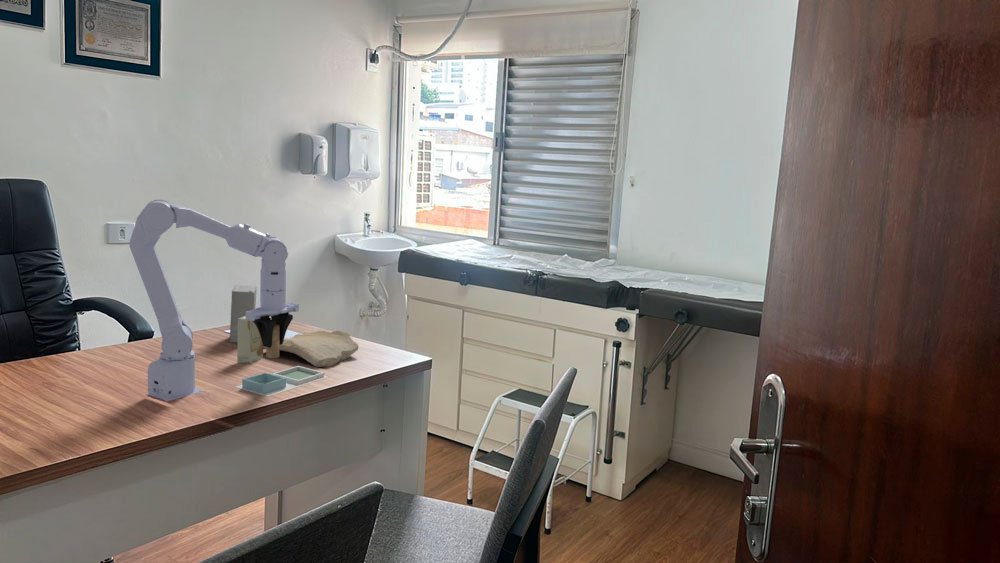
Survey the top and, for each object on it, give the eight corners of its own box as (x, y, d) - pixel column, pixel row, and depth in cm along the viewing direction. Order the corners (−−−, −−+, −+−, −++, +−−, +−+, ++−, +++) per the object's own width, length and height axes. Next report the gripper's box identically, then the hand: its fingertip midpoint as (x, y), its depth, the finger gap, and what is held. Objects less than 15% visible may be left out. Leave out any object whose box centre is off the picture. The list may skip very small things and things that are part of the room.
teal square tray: (263, 394, 164) (263, 385, 164) (242, 388, 168) (242, 379, 167) (286, 386, 170) (286, 378, 170) (265, 381, 174) (265, 372, 173)
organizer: (267, 399, 163) (267, 392, 163) (234, 389, 168) (234, 382, 168) (328, 378, 180) (328, 372, 180) (296, 370, 185) (297, 364, 185)
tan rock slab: (302, 344, 215) (250, 351, 197) (304, 320, 214) (253, 325, 196) (364, 362, 204) (316, 371, 186) (368, 336, 203) (319, 343, 185)
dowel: (272, 358, 168) (272, 327, 167) (263, 356, 169) (263, 325, 168) (282, 356, 170) (282, 325, 169) (273, 353, 172) (273, 323, 171)
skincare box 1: (232, 336, 215) (232, 284, 213) (257, 336, 217) (257, 285, 214) (228, 343, 207) (228, 290, 204) (254, 343, 209) (254, 290, 206)
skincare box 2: (251, 365, 187) (251, 320, 185) (236, 363, 188) (236, 318, 186) (264, 359, 194) (264, 315, 192) (249, 357, 194) (249, 313, 192)
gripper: (260, 295, 159) (260, 354, 161) (308, 287, 171) (307, 342, 174) (239, 291, 162) (239, 348, 165) (287, 283, 175) (286, 337, 177)
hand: (272, 345), depth 169 cm, fingers closed on dowel, 3 cm apart
